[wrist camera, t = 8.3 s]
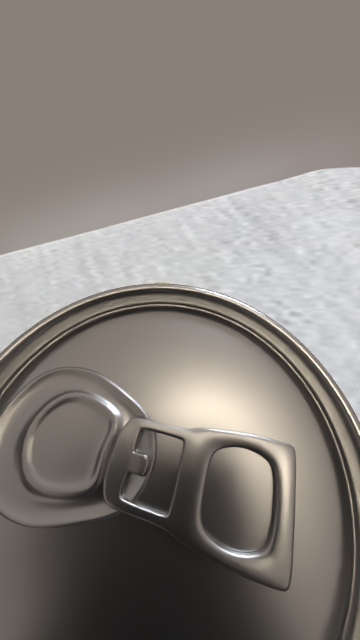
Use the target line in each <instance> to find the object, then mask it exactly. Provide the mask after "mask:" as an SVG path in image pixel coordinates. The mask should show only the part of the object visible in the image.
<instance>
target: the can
mask: <svg viewBox="0 0 360 640" xmlns="http://www.w3.org/2000/svg"><path fill="white" fill-rule="evenodd" d="M0 640H360V422H359V420H358V418H357V416H356V414H355V412H354V411H353V409H352V407H351V405H350V404H349V402H348V400H347V399H346V397H345V395H344V394H343V392H342V391H341V389H340V388H339V386H338V385H337V384H336V382H335V381H334V379H333V378H332V377H331V375H330V374H329V373H328V371H327V370H326V369H325V368H324V366H323V365H322V364H321V363H320V362H319V361H318V359H317V358H316V357H315V356H314V355H313V354H312V353H311V352H310V351H309V350H308V349H307V348H306V347H305V346H304V345H303V344H302V343H301V342H300V341H299V340H298V339H297V338H296V337H295V336H293V335H292V334H291V333H290V332H289V331H287V330H286V329H285V328H284V327H282V326H281V325H280V324H278V323H277V322H276V321H274V320H273V319H271V318H270V317H268V316H267V315H265V314H263V313H262V312H260V311H258V310H256V309H255V308H253V307H251V306H249V305H247V304H245V303H243V302H241V301H239V300H236V299H234V298H231V297H229V296H226V295H223V294H220V293H217V292H214V291H210V290H207V289H202V288H198V287H193V286H186V285H178V284H142V285H133V286H126V287H121V288H116V289H112V290H108V291H104V292H101V293H98V294H95V295H92V296H89V297H86V298H84V299H81V300H79V301H76V302H74V303H72V304H70V305H68V306H66V307H64V308H62V309H60V310H58V311H56V312H55V313H53V314H51V315H49V316H48V317H46V318H44V319H43V320H41V321H40V322H38V323H37V324H35V325H34V326H33V327H31V328H30V329H28V330H27V331H26V332H24V333H23V334H22V335H21V336H19V337H18V338H17V339H16V340H15V341H13V342H12V343H11V344H10V345H9V346H8V347H7V348H5V349H4V350H3V351H2V352H1V353H0Z"/></svg>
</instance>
